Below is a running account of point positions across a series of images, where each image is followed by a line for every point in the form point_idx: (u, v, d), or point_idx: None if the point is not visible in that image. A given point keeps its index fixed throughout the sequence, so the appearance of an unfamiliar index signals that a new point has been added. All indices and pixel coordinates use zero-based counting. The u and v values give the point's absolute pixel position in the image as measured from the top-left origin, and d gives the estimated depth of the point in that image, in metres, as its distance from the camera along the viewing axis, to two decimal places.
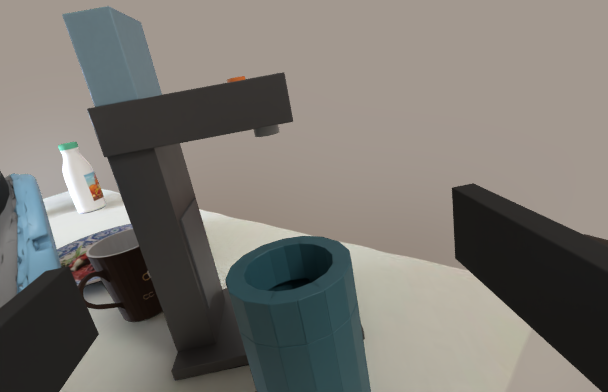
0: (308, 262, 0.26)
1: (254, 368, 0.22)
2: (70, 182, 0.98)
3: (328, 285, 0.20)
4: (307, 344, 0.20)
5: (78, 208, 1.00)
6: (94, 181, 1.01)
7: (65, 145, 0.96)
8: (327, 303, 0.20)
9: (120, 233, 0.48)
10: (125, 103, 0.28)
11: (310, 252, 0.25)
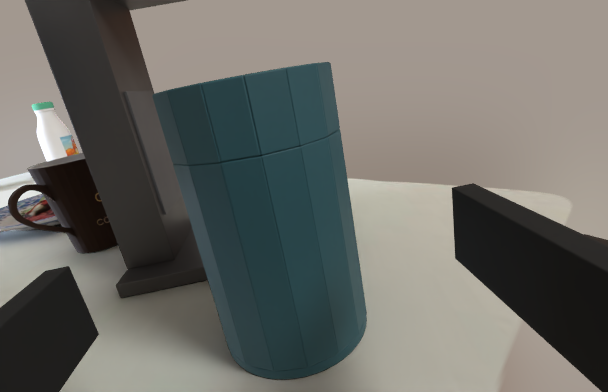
0: None
1: (194, 218, 0.16)
2: (45, 144, 0.91)
3: None
4: (262, 156, 0.13)
5: None
6: (72, 145, 0.94)
7: (39, 104, 0.89)
8: (291, 92, 0.13)
9: (75, 156, 0.41)
10: None
11: None
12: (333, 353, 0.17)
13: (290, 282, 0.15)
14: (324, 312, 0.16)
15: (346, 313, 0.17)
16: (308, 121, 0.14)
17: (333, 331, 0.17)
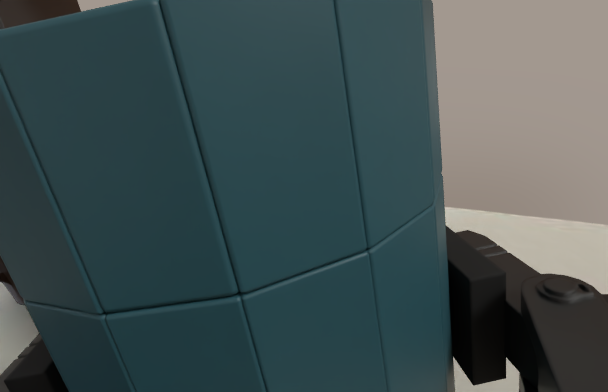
0: None
1: None
2: None
3: None
4: (246, 297, 0.04)
5: None
6: None
7: None
8: (349, 74, 0.04)
9: None
10: None
11: None
12: None
13: None
14: None
15: None
16: (393, 168, 0.04)
17: None
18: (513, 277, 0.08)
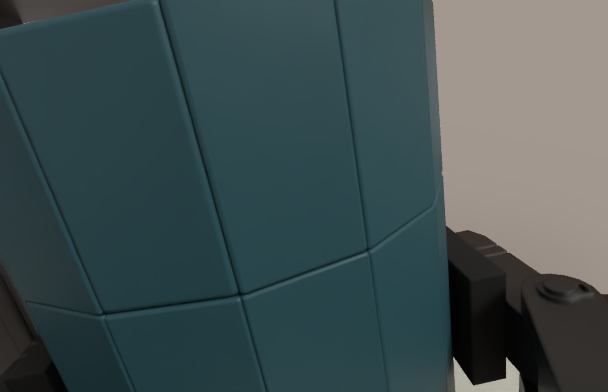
0: None
1: None
2: None
3: None
4: (246, 297, 0.04)
5: None
6: None
7: None
8: (349, 74, 0.04)
9: None
10: None
11: None
12: None
13: None
14: None
15: None
16: (394, 168, 0.04)
17: None
18: (513, 277, 0.08)
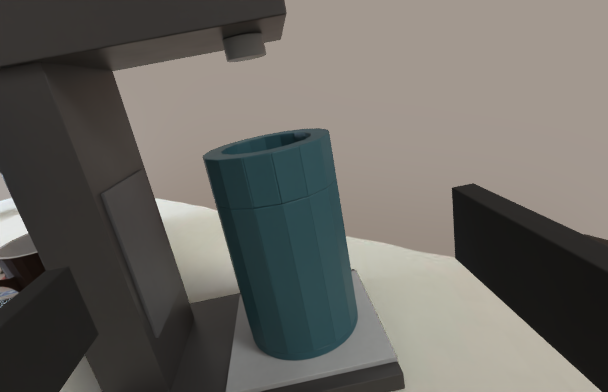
0: None
1: (232, 244, 0.22)
2: None
3: (303, 143, 0.20)
4: (282, 204, 0.20)
5: None
6: None
7: None
8: (302, 161, 0.20)
9: None
10: None
11: (291, 142, 0.25)
12: (332, 341, 0.23)
13: (301, 290, 0.21)
14: (325, 311, 0.22)
15: (341, 312, 0.23)
16: (313, 179, 0.20)
17: (332, 325, 0.23)
18: None
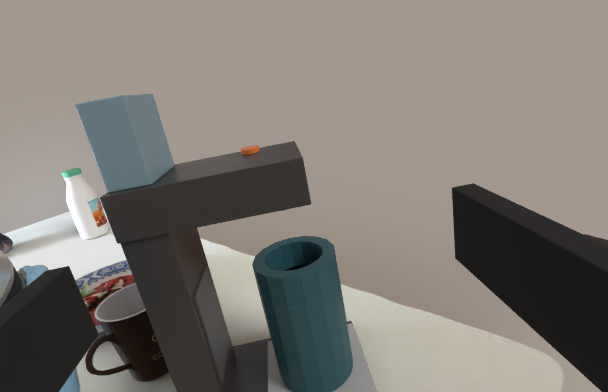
0: (306, 254, 0.38)
1: (271, 322, 0.34)
2: (74, 209, 0.97)
3: (319, 266, 0.32)
4: (306, 303, 0.32)
5: (82, 235, 1.00)
6: (98, 207, 1.00)
7: (69, 172, 0.95)
8: (318, 277, 0.32)
9: (128, 287, 0.47)
10: (139, 191, 0.27)
11: (308, 247, 0.37)
12: (336, 383, 0.35)
13: (316, 353, 0.34)
14: (331, 365, 0.35)
15: (342, 364, 0.35)
16: (325, 286, 0.32)
17: (336, 373, 0.35)
18: None
